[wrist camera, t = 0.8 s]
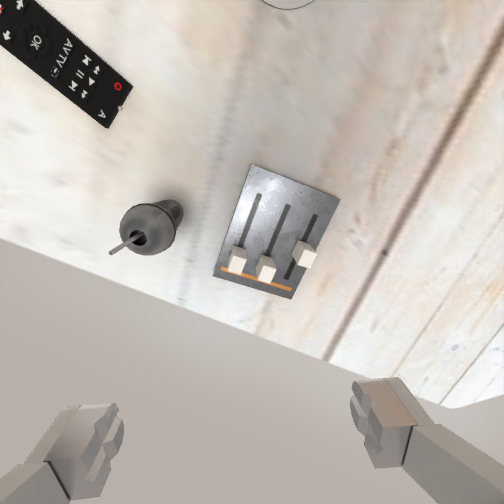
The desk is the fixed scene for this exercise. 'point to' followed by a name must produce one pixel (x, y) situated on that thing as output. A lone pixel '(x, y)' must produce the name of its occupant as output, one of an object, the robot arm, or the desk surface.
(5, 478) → the robot arm
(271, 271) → the block
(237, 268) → the block
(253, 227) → the grey slider panel
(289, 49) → the desk surface
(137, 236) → the beverage cup
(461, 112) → the desk surface
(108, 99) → the remote control
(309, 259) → the block
